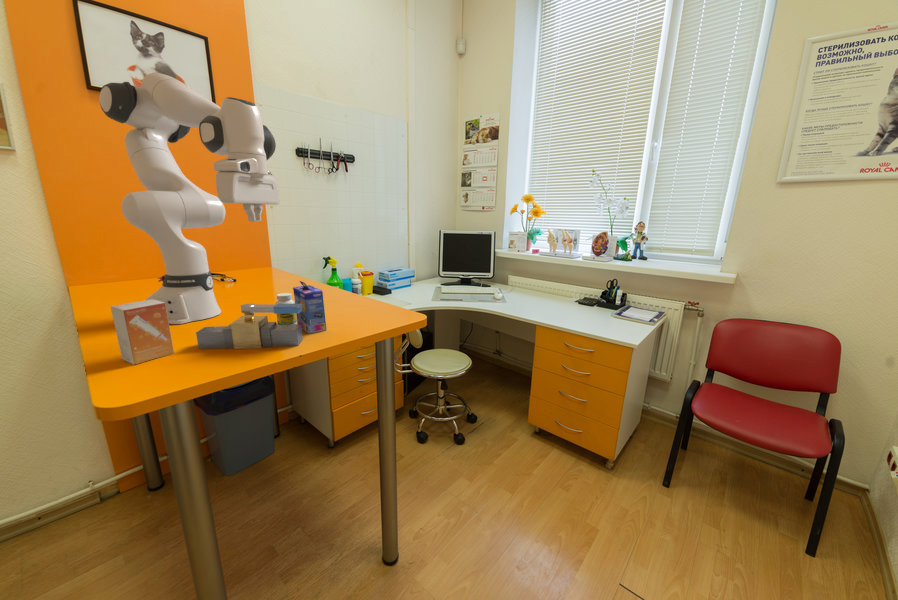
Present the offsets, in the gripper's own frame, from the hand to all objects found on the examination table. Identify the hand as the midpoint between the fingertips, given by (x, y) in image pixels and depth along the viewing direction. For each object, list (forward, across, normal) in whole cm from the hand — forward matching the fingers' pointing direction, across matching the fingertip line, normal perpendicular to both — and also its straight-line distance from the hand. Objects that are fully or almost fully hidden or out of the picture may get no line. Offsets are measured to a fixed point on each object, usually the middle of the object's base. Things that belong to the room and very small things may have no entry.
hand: (255, 221), depth 96 cm
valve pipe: (+31, +10, +3) cm, 33 cm away
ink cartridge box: (+31, -4, +11) cm, 34 cm away
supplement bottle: (+31, -6, +2) cm, 32 cm away
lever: (+22, +10, +8) cm, 26 cm away
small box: (+31, +22, -16) cm, 41 cm away
